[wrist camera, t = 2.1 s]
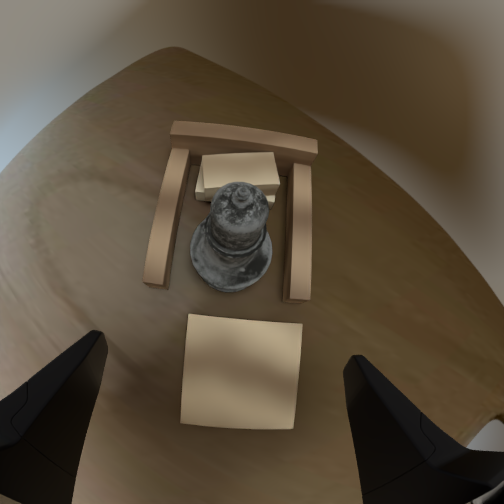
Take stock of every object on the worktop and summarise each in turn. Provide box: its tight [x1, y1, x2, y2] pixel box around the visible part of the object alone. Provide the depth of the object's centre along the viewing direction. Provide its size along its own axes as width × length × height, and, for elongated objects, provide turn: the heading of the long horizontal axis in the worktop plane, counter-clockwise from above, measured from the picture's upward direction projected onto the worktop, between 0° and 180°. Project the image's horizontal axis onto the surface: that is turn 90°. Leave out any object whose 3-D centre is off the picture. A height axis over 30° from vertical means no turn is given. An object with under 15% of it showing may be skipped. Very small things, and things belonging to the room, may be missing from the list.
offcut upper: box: [202, 152, 280, 200], centre depth 22 cm, size 3×6×2 cm, turn 98°
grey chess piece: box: [190, 182, 272, 292], centre depth 17 cm, size 6×6×12 cm
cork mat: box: [180, 314, 302, 429], centre depth 20 cm, size 9×9×1 cm
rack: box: [142, 121, 318, 303], centre depth 22 cm, size 14×13×4 cm
